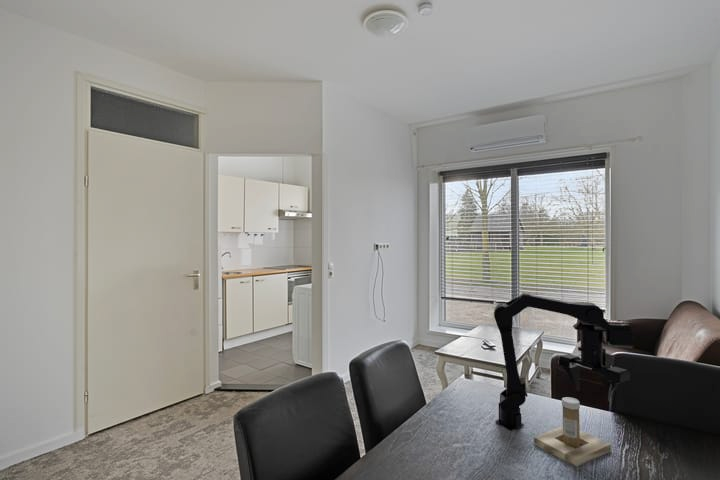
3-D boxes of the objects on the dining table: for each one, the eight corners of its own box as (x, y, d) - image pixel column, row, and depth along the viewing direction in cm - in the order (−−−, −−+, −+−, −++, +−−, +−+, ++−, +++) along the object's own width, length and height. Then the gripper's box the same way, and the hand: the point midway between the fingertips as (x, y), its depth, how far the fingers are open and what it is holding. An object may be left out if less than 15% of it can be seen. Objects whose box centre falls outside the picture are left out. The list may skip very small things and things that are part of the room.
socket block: (533, 443, 110) (533, 437, 110) (567, 430, 117) (567, 424, 117) (576, 467, 98) (576, 459, 98) (610, 451, 106) (610, 444, 106)
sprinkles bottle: (583, 446, 107) (582, 400, 107) (575, 451, 105) (574, 404, 105) (567, 439, 111) (566, 395, 111) (559, 444, 109) (558, 398, 109)
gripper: (640, 348, 108) (641, 401, 108) (578, 334, 125) (579, 380, 125) (618, 354, 103) (619, 409, 103) (556, 338, 120) (557, 386, 120)
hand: (592, 395), depth 113 cm, fingers open, 9 cm apart
